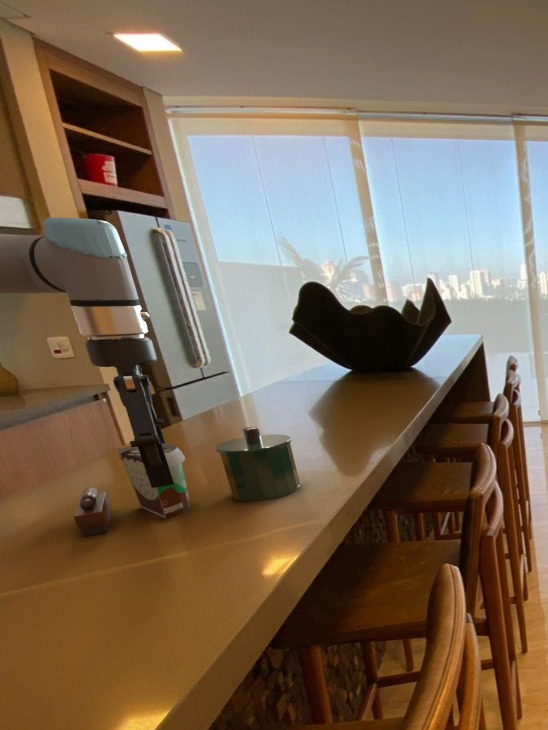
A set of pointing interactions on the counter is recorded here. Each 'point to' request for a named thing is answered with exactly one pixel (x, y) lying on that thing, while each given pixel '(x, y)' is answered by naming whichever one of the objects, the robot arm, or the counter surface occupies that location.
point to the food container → (160, 498)
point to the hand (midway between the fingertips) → (162, 474)
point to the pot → (261, 474)
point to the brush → (93, 512)
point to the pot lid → (253, 442)
